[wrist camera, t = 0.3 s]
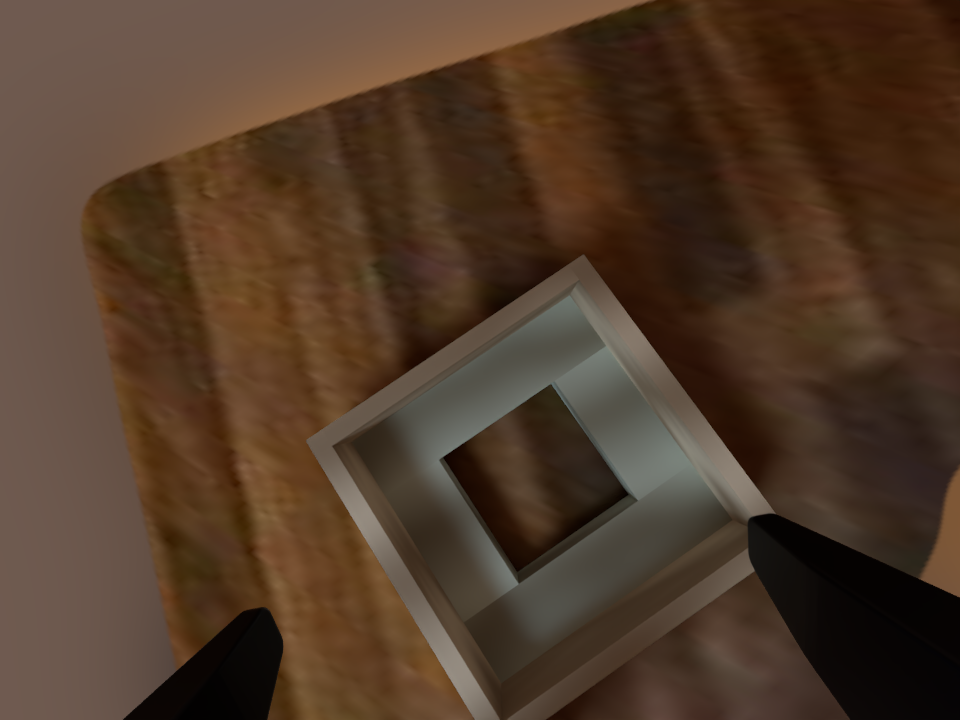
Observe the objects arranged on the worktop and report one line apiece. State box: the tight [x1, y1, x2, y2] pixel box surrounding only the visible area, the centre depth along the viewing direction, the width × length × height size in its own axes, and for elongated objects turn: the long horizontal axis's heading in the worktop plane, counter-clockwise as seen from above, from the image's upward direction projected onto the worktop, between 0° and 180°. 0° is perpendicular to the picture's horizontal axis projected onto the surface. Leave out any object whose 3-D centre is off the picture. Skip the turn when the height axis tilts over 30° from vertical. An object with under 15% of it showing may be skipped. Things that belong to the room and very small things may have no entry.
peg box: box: [306, 254, 776, 720], centre depth 20 cm, size 14×14×4 cm
